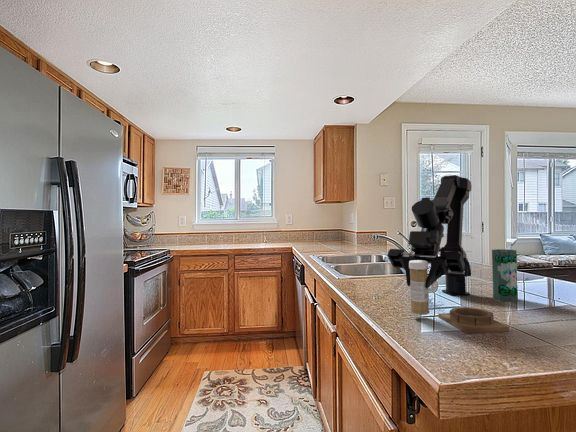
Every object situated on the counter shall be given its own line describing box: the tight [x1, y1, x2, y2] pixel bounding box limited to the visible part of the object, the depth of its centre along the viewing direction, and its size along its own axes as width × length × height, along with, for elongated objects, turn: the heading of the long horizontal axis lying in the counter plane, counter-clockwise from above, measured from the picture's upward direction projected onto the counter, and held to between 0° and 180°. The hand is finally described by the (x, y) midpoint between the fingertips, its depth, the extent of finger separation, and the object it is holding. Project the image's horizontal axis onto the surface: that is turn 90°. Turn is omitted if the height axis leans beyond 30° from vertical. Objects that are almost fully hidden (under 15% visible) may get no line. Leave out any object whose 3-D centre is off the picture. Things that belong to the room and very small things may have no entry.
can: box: [491, 248, 519, 303], centre depth 103 cm, size 6×6×15 cm
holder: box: [437, 306, 510, 334], centre depth 81 cm, size 12×10×3 cm
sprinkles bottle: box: [409, 260, 430, 316], centre depth 87 cm, size 5×5×13 cm
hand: (417, 286), depth 86 cm, fingers closed on sprinkles bottle, 4 cm apart
